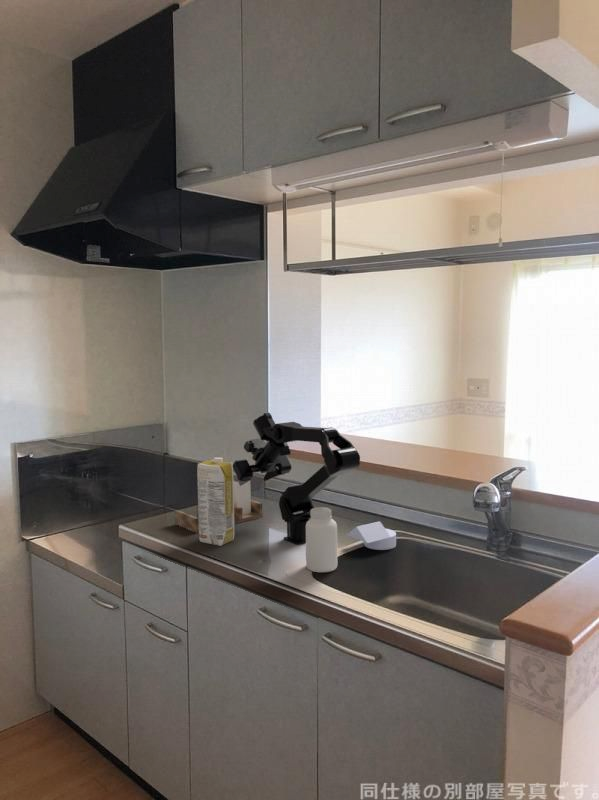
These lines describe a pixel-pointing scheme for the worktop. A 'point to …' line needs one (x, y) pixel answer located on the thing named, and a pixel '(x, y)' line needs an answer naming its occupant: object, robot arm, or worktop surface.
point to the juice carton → (215, 501)
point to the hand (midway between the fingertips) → (252, 482)
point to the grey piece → (242, 495)
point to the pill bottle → (321, 541)
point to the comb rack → (256, 512)
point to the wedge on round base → (374, 536)
